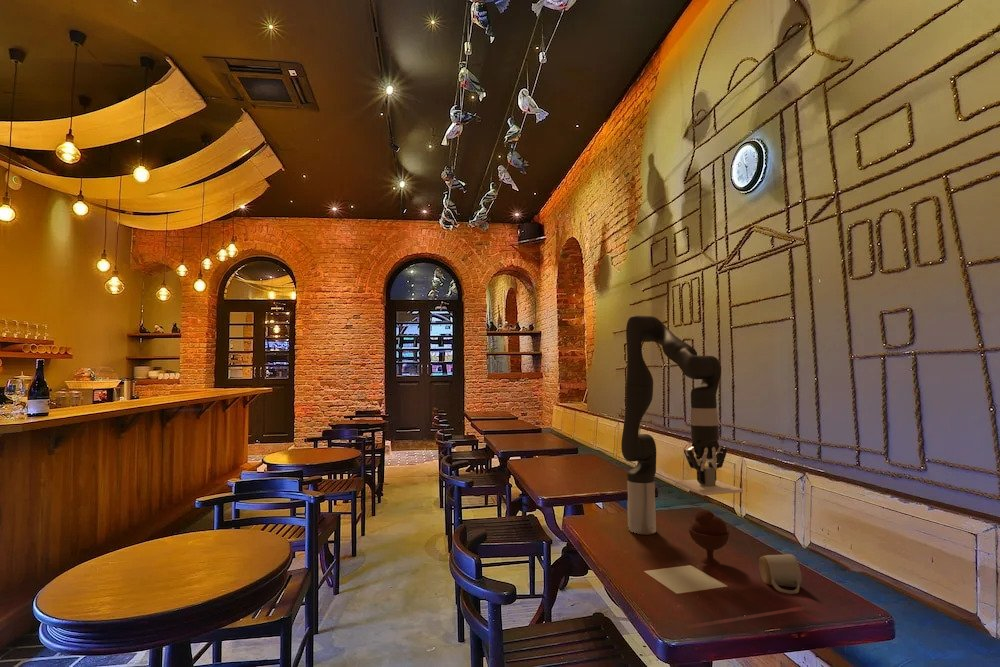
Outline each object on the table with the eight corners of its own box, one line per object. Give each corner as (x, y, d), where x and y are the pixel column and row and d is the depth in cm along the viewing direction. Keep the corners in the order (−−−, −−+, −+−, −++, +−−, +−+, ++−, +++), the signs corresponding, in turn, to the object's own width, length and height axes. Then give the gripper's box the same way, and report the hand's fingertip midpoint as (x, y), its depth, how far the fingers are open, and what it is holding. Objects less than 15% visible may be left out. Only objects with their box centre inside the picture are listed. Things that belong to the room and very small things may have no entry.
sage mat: (643, 573, 139) (643, 571, 139) (690, 567, 143) (690, 565, 143) (676, 596, 125) (676, 593, 125) (727, 588, 129) (727, 586, 129)
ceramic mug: (757, 578, 135) (756, 549, 135) (790, 579, 134) (789, 550, 134) (773, 596, 124) (772, 564, 125) (809, 598, 123) (807, 565, 124)
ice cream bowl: (688, 567, 143) (686, 513, 144) (693, 554, 153) (691, 504, 154) (729, 574, 138) (726, 517, 139) (731, 560, 148) (729, 508, 149)
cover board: (674, 483, 151) (674, 464, 152) (711, 480, 155) (711, 461, 155) (703, 495, 139) (702, 474, 139) (742, 492, 142) (742, 471, 143)
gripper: (716, 421, 154) (718, 479, 153) (676, 423, 150) (678, 482, 149) (733, 423, 147) (736, 484, 146) (692, 425, 143) (694, 487, 142)
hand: (706, 483), depth 147 cm, fingers closed on cover board, 3 cm apart
